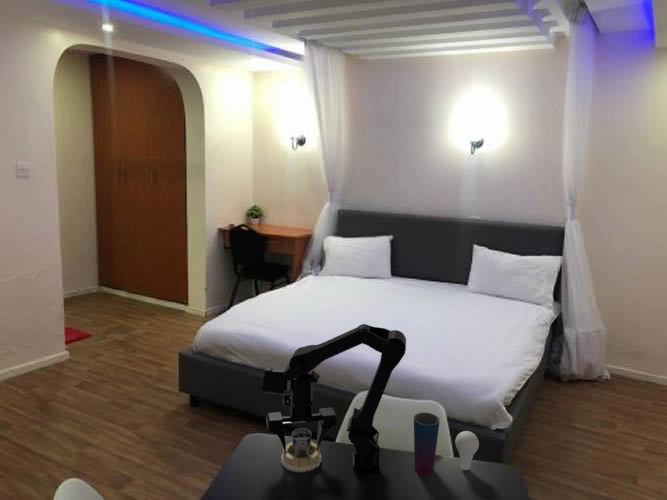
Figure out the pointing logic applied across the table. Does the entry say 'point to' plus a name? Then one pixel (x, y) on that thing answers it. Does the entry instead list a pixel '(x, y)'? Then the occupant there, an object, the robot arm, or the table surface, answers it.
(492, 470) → the table surface
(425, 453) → the cup
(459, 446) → the lightbulb
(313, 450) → the ring
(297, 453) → the bayonet cap
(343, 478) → the table surface
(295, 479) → the table surface
